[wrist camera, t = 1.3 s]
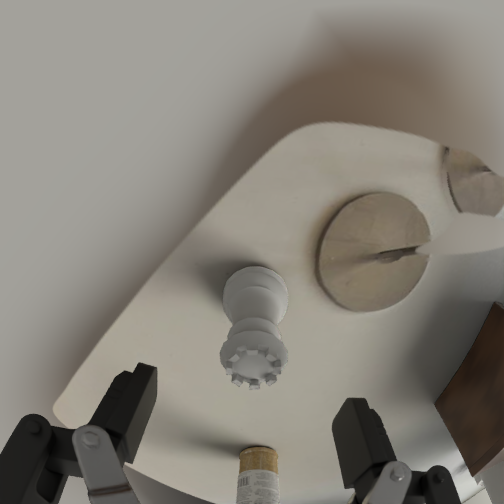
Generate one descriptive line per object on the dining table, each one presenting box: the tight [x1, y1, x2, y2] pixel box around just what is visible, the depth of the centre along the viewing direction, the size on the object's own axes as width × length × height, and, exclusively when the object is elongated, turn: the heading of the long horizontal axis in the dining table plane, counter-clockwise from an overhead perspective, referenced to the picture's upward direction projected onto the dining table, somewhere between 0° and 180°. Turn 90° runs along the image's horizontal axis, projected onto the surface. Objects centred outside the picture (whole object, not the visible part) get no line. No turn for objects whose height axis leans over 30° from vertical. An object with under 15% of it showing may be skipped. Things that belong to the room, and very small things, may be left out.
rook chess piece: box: [220, 266, 288, 390], centre depth 16 cm, size 4×4×8 cm
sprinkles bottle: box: [236, 447, 279, 504], centre depth 20 cm, size 5×5×14 cm
